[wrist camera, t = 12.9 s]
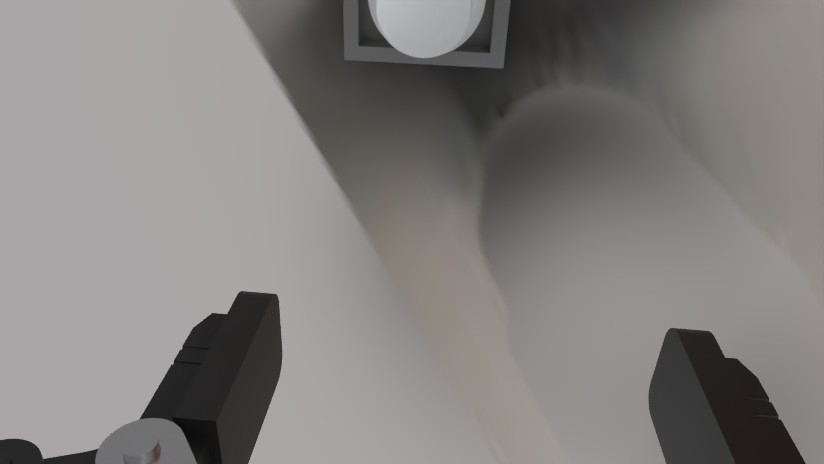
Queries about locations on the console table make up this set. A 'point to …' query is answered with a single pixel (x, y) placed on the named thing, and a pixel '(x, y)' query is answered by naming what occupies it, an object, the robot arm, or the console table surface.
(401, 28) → the supplement bottle
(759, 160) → the console table surface
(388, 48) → the tray
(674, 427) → the robot arm
